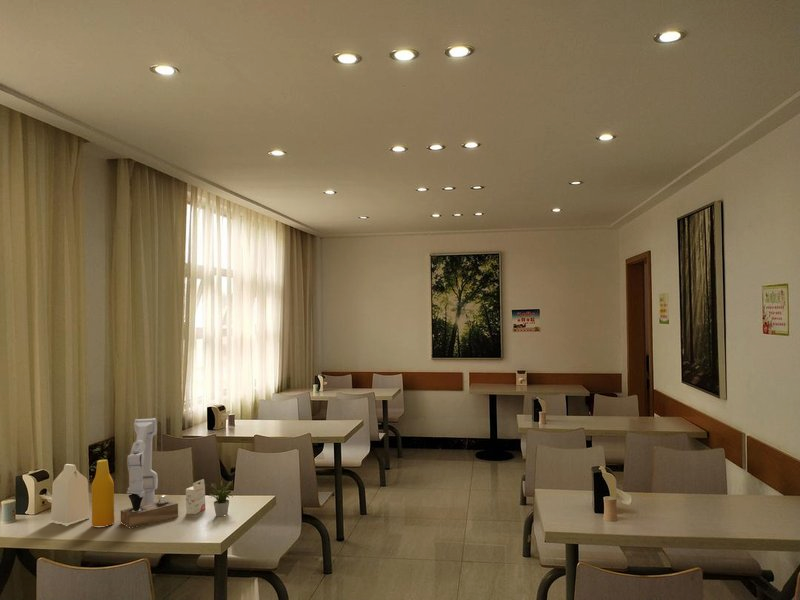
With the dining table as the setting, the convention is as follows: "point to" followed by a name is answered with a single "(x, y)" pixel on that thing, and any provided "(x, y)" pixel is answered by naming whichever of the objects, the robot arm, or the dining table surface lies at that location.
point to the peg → (162, 500)
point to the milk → (70, 496)
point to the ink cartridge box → (195, 498)
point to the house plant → (221, 499)
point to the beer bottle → (102, 496)
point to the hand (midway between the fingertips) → (136, 510)
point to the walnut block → (149, 513)
